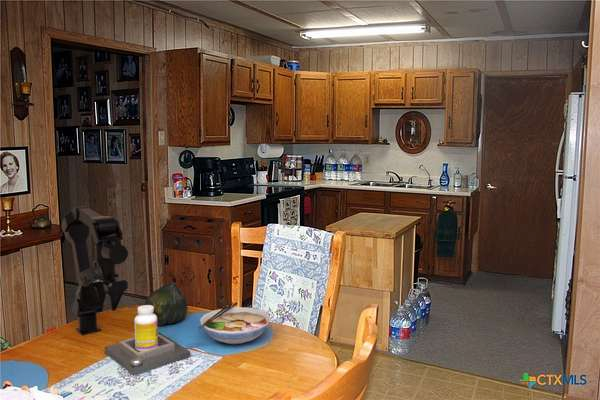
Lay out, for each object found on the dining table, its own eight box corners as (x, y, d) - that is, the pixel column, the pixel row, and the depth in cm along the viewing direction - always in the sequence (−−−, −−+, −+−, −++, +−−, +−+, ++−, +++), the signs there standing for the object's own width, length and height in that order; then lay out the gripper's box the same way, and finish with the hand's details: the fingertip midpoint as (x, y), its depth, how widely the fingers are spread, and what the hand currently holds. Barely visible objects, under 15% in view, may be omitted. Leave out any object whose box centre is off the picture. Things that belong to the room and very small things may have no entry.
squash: (129, 309, 185) (152, 281, 181) (156, 299, 199) (179, 272, 194) (154, 340, 182) (179, 312, 177) (180, 327, 196) (203, 301, 191)
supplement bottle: (159, 350, 159) (158, 309, 158) (136, 354, 156) (135, 312, 155) (156, 342, 165) (155, 302, 164) (134, 346, 163) (132, 305, 161)
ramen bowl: (251, 361, 157) (251, 334, 156) (184, 349, 165) (184, 324, 164) (282, 331, 181) (282, 308, 180) (223, 322, 188) (222, 300, 187)
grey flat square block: (105, 353, 162) (104, 340, 162) (159, 338, 174) (158, 326, 174) (133, 375, 148) (132, 361, 147) (190, 357, 159) (190, 344, 159)
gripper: (68, 256, 165) (70, 305, 167) (90, 268, 152) (93, 320, 153) (103, 251, 173) (105, 297, 175) (127, 261, 159) (129, 312, 161)
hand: (107, 306), depth 166 cm, fingers open, 9 cm apart
